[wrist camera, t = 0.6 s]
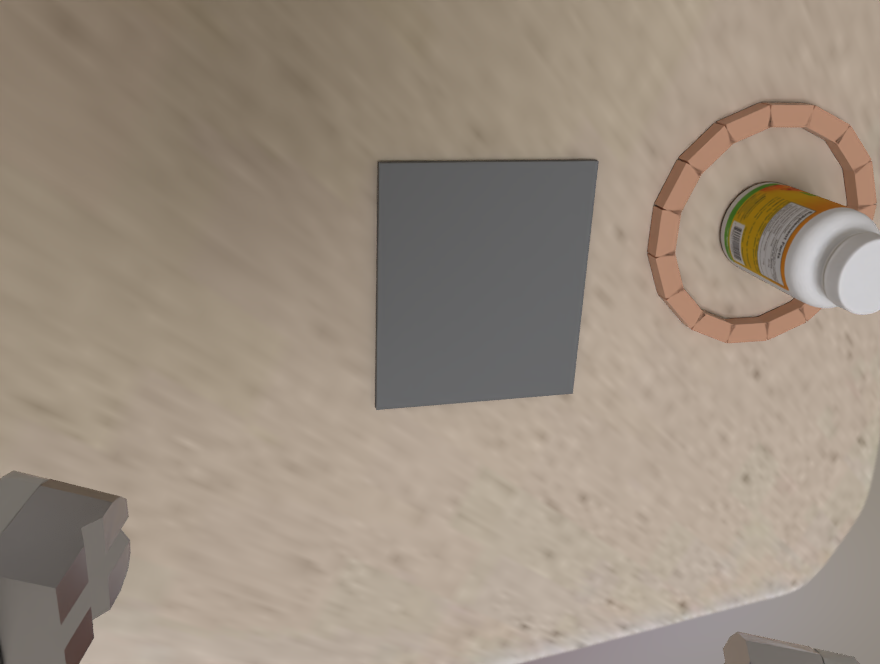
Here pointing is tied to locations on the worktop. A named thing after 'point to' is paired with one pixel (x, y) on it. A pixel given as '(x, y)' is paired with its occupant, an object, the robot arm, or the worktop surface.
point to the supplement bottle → (805, 247)
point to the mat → (480, 279)
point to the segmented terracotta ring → (685, 180)
